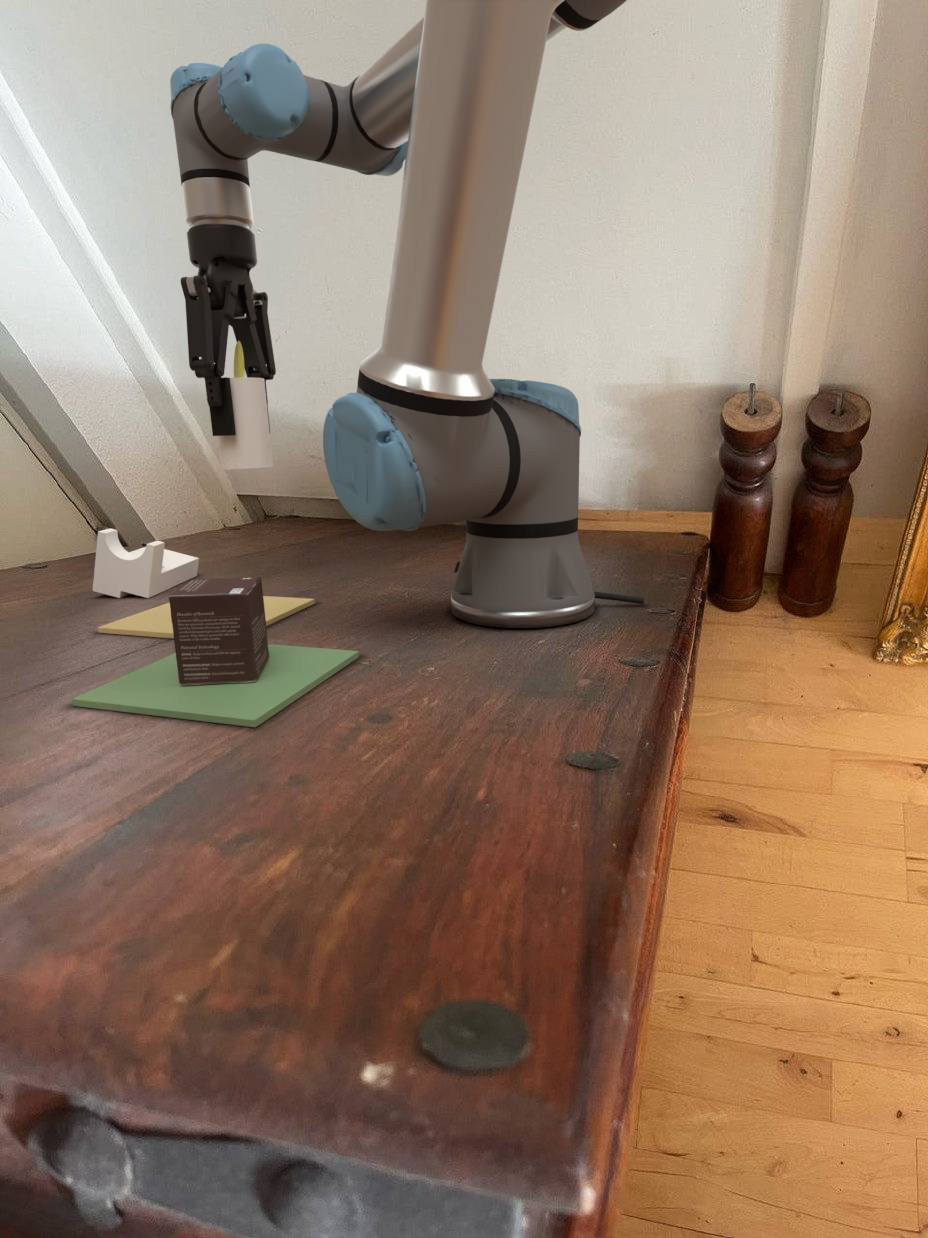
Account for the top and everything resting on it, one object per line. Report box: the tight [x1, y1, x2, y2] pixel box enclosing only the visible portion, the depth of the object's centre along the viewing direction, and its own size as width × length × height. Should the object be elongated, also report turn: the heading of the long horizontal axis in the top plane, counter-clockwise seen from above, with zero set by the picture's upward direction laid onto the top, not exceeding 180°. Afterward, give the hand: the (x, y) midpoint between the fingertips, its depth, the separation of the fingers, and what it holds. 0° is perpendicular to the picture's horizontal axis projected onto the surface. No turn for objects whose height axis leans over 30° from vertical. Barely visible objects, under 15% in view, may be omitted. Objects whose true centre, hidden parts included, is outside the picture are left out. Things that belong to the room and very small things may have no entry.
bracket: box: [92, 528, 200, 599], centre depth 96 cm, size 13×7×8 cm, turn 174°
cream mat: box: [97, 595, 316, 640], centre depth 81 cm, size 16×16×1 cm
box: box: [168, 575, 269, 686], centre depth 60 cm, size 6×6×7 cm
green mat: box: [71, 643, 360, 728], centre depth 61 cm, size 16×16×1 cm
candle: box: [216, 341, 274, 470], centre depth 91 cm, size 6×6×15 cm
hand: (242, 434), depth 92 cm, fingers closed on candle, 7 cm apart
